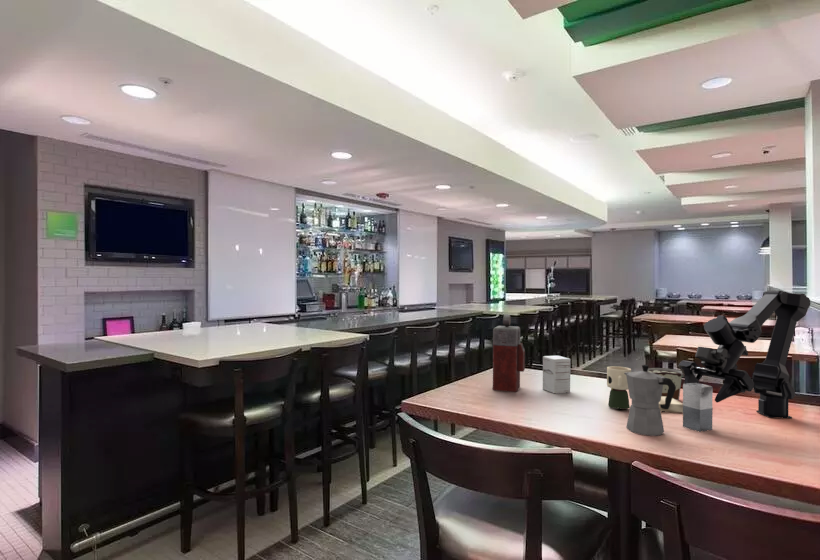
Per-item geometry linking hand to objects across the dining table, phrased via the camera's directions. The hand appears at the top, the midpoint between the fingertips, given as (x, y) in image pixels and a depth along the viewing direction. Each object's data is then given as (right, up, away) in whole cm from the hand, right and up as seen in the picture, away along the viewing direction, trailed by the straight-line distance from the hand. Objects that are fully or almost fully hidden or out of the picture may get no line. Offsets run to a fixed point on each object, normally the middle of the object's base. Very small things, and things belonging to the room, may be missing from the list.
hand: (699, 397), depth 128 cm
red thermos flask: (-43, -9, +45) cm, 63 cm away
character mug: (-14, -9, +19) cm, 25 cm away
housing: (-1, -9, 0) cm, 9 cm away
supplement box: (-26, -9, +43) cm, 51 cm away
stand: (0, -9, +21) cm, 22 cm away
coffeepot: (-16, -9, -4) cm, 19 cm away
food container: (+8, -9, +34) cm, 36 cm away
